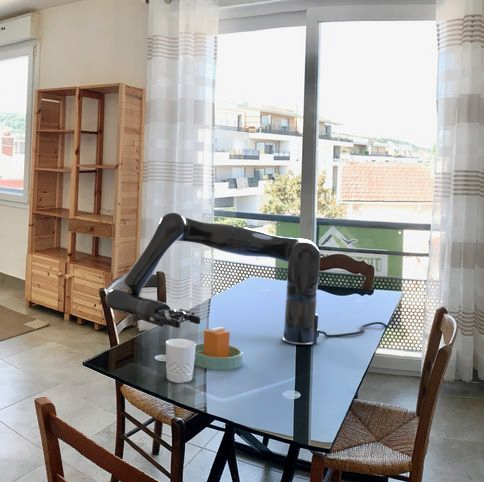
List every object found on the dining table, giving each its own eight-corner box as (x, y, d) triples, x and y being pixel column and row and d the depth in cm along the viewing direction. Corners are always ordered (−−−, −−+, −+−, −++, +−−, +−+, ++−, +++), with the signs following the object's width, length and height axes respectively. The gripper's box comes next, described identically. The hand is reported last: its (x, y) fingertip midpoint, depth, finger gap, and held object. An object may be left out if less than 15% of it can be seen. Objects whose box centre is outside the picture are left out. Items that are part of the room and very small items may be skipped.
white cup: (161, 374, 169) (162, 338, 168) (189, 373, 170) (190, 338, 169) (169, 384, 161) (170, 347, 160) (198, 383, 162) (199, 347, 161)
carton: (214, 358, 182) (216, 324, 181) (228, 362, 178) (229, 328, 176) (203, 360, 179) (204, 327, 178) (216, 365, 175) (217, 331, 174)
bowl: (231, 355, 186) (231, 342, 186) (249, 371, 172) (250, 357, 171) (184, 355, 185) (184, 343, 185) (198, 372, 171) (198, 358, 170)
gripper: (136, 302, 195) (172, 313, 182) (169, 297, 203) (206, 307, 189) (135, 325, 196) (172, 338, 183) (168, 319, 204) (205, 331, 190)
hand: (189, 322), depth 186 cm, fingers open, 8 cm apart
